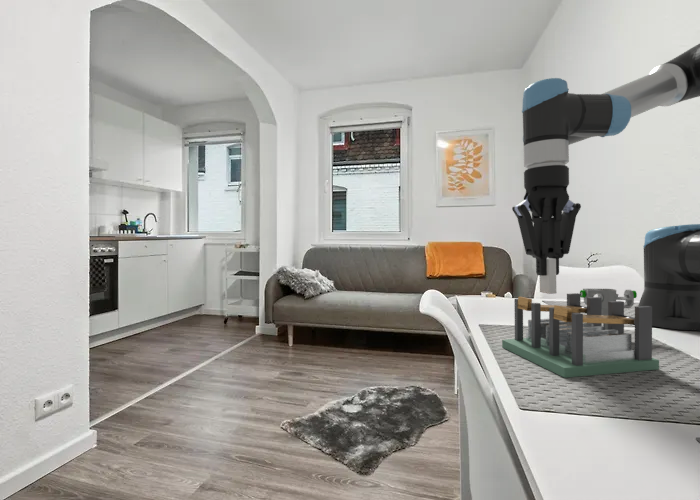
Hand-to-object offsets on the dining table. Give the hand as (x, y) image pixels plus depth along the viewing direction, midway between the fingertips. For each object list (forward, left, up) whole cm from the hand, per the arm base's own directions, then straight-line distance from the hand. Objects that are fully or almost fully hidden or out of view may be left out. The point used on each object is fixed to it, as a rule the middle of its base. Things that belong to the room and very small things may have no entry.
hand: (548, 292), depth 73 cm
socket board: (-1, +5, -11) cm, 12 cm away
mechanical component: (-19, -6, -11) cm, 22 cm away
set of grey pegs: (-2, +5, -9) cm, 11 cm away
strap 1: (-1, 0, -4) cm, 4 cm away
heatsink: (-2, +5, -9) cm, 11 cm away
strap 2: (-1, +10, -4) cm, 11 cm away
